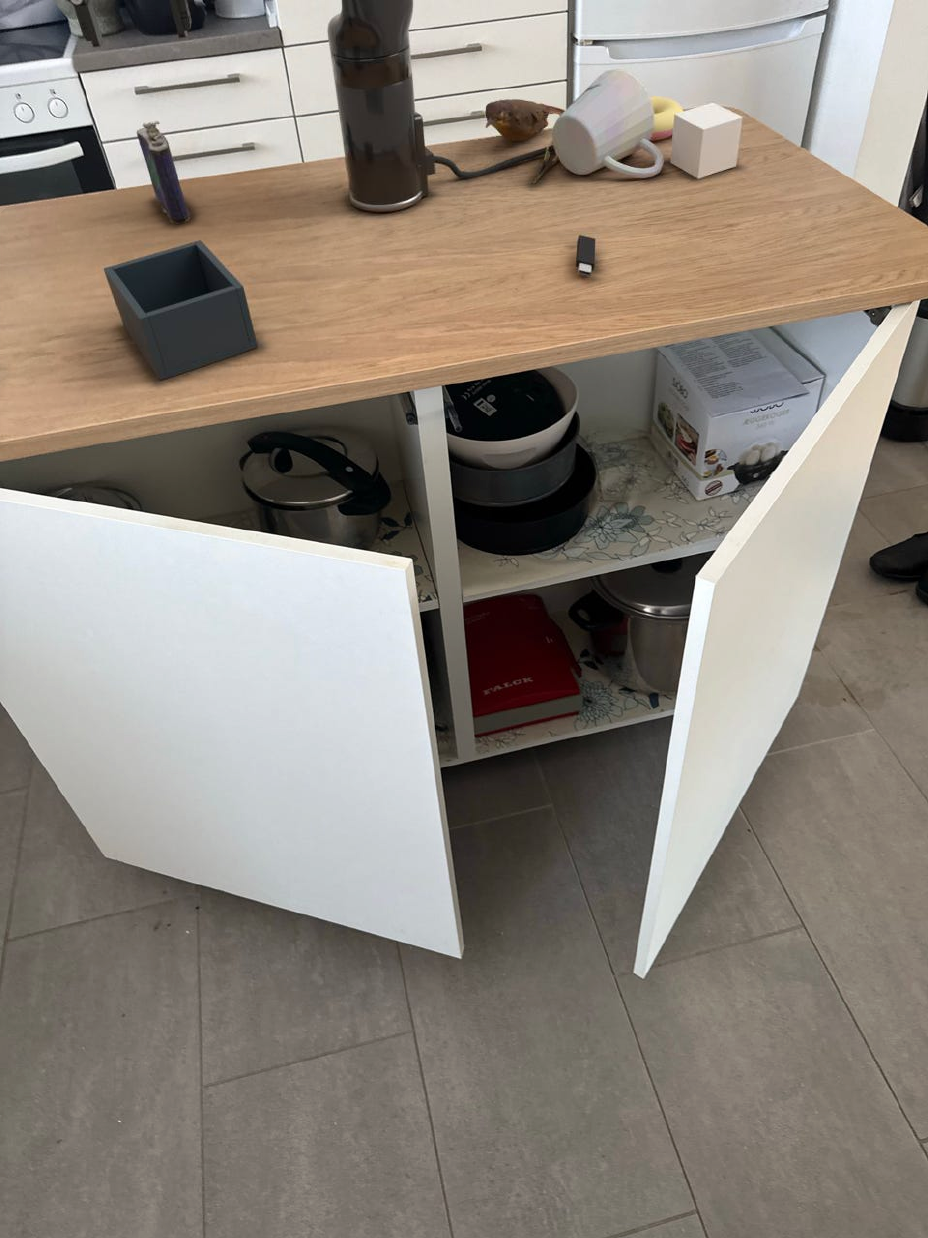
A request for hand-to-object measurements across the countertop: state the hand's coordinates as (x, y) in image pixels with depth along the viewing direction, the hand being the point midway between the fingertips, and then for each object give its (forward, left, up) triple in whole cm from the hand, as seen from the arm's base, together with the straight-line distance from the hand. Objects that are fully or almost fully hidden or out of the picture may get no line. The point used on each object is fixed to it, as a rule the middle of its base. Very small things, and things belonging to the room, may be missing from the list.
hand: (140, 40), depth 95 cm
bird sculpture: (-51, -8, -24) cm, 57 cm away
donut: (-67, +6, -22) cm, 71 cm away
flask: (-2, -16, -24) cm, 29 cm away
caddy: (+7, +16, -23) cm, 29 cm away
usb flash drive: (-36, +27, -22) cm, 51 cm away
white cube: (-63, +18, -16) cm, 67 cm away
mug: (-49, +9, -21) cm, 54 cm away
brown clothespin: (-48, +3, -24) cm, 53 cm away
